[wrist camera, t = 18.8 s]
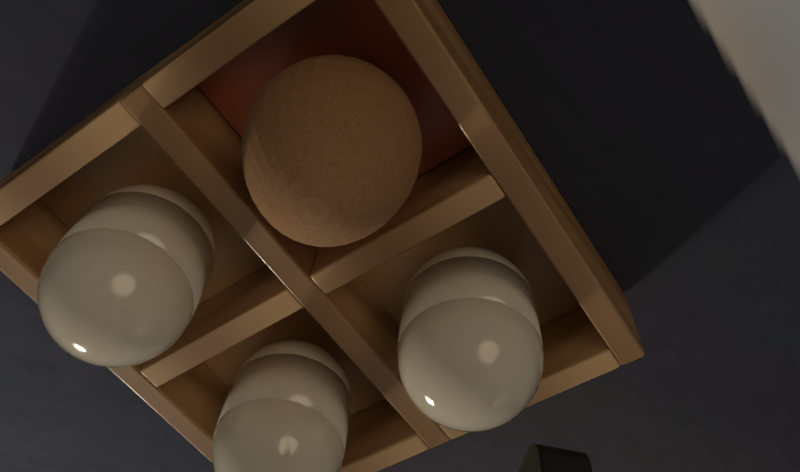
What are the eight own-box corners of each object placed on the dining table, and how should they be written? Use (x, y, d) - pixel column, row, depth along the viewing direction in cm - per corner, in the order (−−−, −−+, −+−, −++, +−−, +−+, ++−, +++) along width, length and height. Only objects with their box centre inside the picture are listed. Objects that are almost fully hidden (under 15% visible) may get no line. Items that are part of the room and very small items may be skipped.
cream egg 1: (170, 136, 22) (84, 243, 17) (257, 235, 24) (203, 360, 18) (78, 201, 23) (-28, 318, 18) (166, 290, 25) (91, 420, 20)
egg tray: (374, -99, 19) (362, -80, 16) (625, 294, 25) (646, 356, 22) (5, 176, 24) (-51, 226, 21) (288, 452, 29) (272, 518, 27)
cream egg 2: (311, 296, 25) (274, 430, 19) (380, 374, 26) (363, 517, 21) (221, 345, 26) (165, 483, 21) (292, 417, 28) (256, 562, 22)
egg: (250, 39, 20) (182, 126, 15) (414, 20, 20) (402, 102, 14) (284, 186, 22) (235, 305, 17) (433, 172, 22) (428, 291, 17)
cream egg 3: (488, 199, 22) (500, 321, 17) (552, 291, 24) (580, 428, 19) (380, 258, 24) (361, 389, 19) (447, 342, 25) (446, 483, 20)
